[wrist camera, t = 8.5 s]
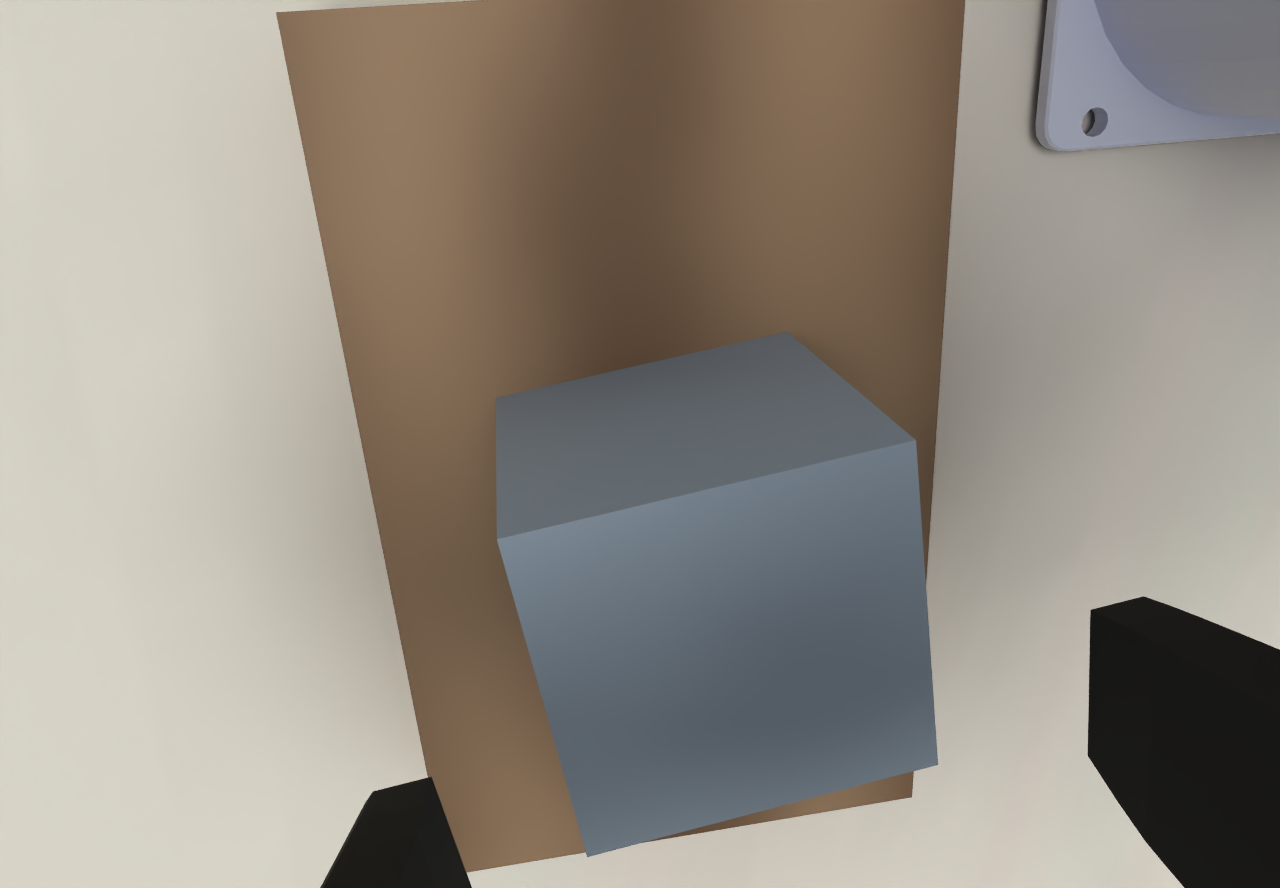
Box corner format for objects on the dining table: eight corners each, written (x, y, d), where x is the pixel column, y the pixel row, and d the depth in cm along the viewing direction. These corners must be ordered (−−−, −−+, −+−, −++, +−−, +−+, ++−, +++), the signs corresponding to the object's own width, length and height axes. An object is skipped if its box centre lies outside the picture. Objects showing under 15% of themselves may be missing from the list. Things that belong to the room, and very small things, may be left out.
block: (787, 331, 15) (916, 439, 10) (818, 581, 17) (937, 764, 12) (496, 397, 15) (497, 539, 10) (561, 644, 17) (586, 856, 12)
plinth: (886, -10, 16) (967, -29, 13) (860, 708, 22) (911, 797, 20) (315, 25, 15) (275, 11, 12) (453, 772, 21) (447, 875, 18)
